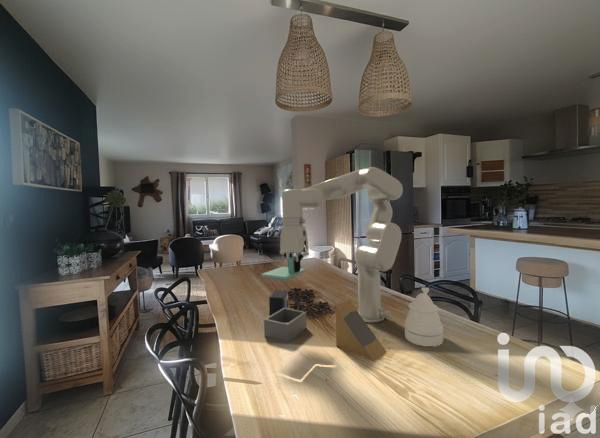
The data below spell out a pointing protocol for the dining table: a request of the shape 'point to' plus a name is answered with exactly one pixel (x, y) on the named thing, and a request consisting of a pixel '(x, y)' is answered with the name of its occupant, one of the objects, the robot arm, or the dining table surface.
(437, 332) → the honey pot
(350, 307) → the sandwich container
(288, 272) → the lid
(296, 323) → the tub
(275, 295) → the small box
